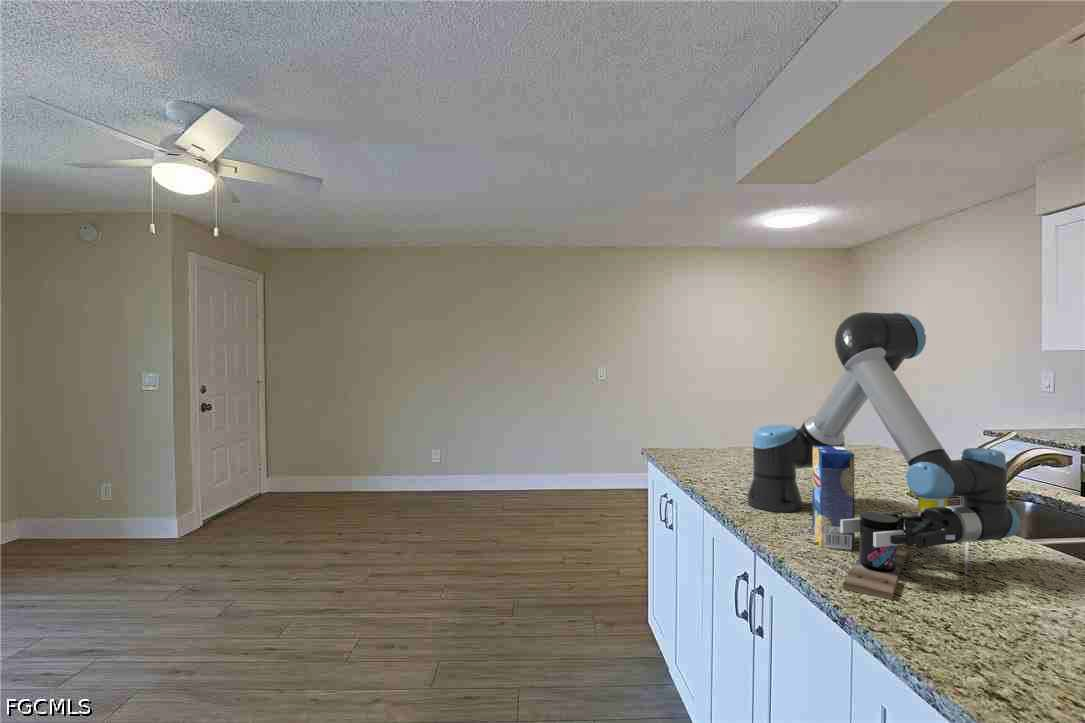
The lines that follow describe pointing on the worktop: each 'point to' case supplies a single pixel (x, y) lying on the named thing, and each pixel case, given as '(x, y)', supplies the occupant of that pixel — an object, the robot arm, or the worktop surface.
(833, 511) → the beverage box
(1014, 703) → the worktop surface
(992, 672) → the worktop surface
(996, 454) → the robot arm
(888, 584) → the hinge leaves
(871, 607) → the worktop surface
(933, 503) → the supplement bottle
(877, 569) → the supplement container
